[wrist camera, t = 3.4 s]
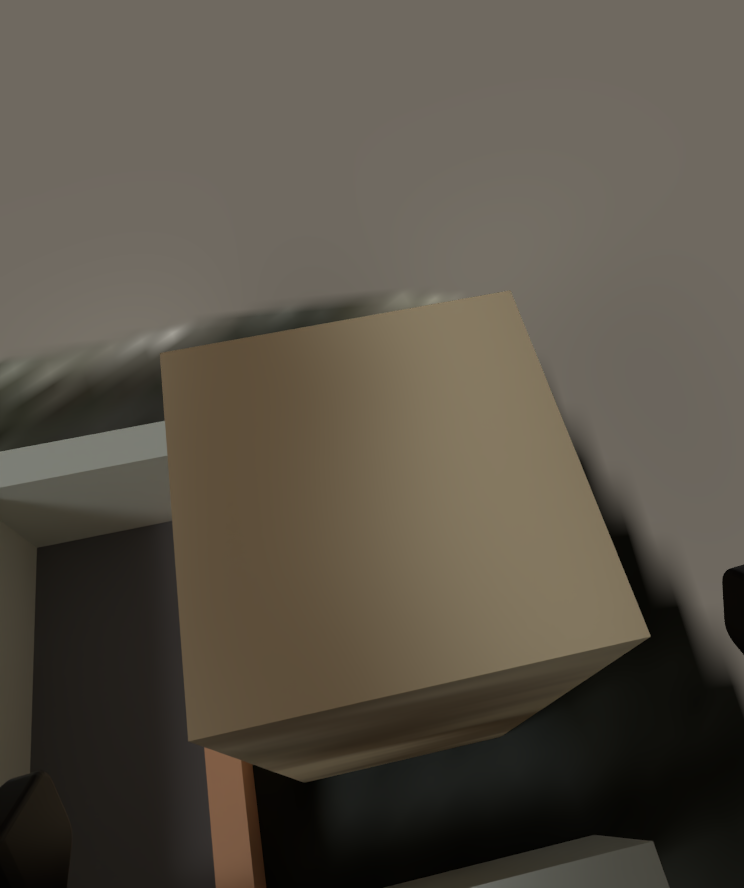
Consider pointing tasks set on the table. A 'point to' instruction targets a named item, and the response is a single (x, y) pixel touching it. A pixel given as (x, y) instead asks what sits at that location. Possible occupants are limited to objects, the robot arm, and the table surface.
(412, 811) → the table surface
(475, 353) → the maple block
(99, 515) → the trap trough
